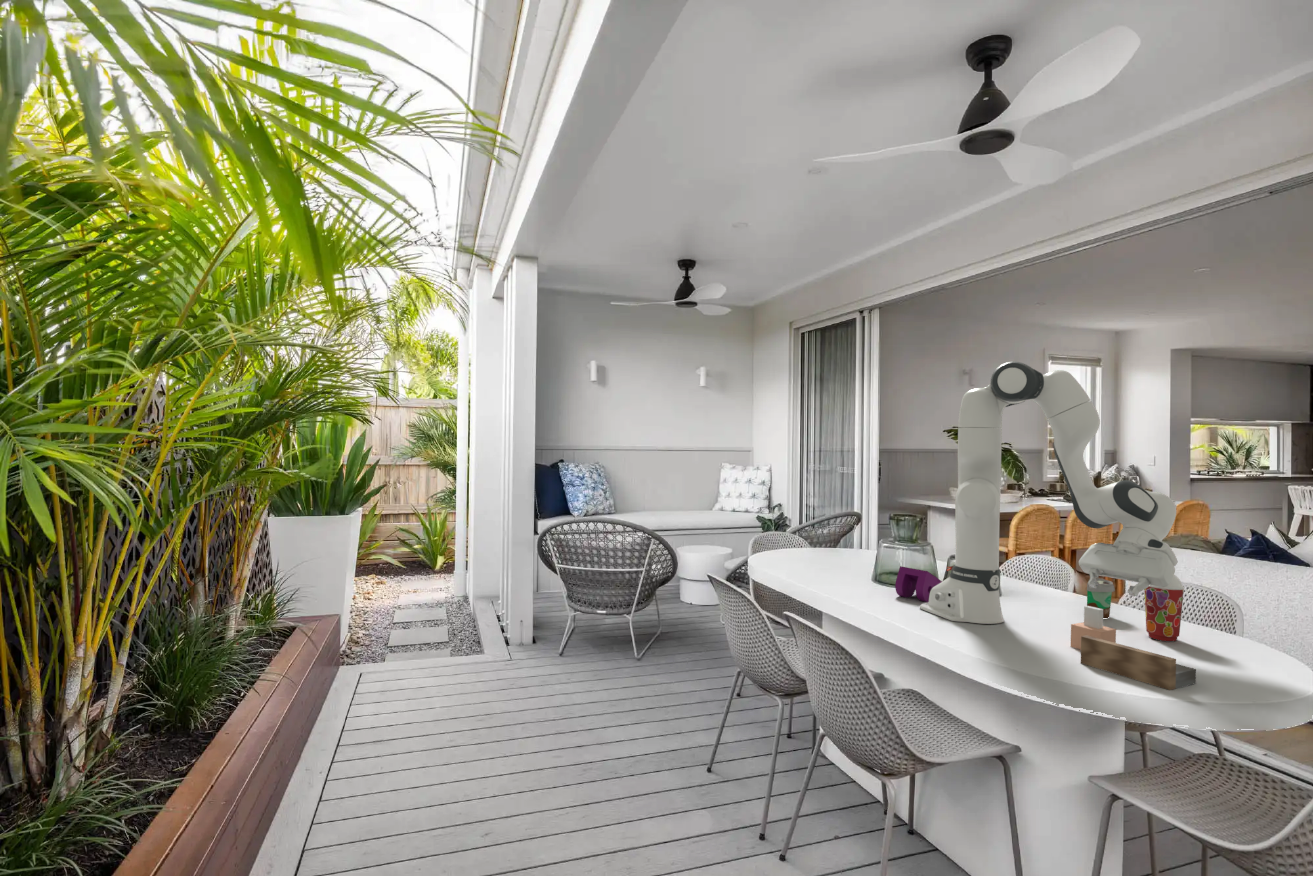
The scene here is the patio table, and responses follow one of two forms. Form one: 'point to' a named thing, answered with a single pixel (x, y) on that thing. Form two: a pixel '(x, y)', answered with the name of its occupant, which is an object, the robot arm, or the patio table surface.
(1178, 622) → the smoothie
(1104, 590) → the food container
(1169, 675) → the wall board
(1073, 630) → the peach box
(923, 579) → the mounting bracket
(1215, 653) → the patio table surface
